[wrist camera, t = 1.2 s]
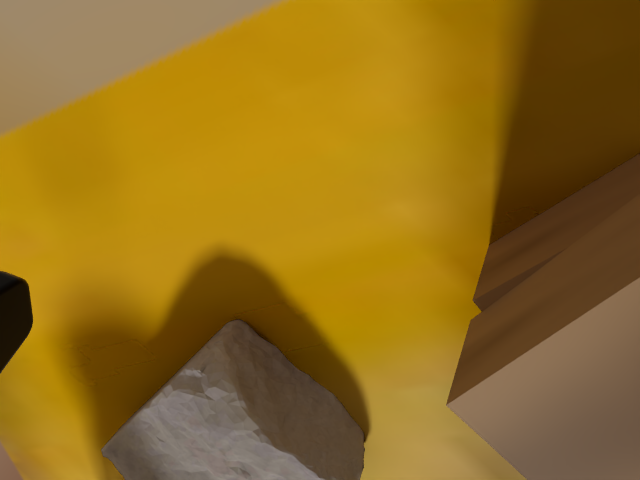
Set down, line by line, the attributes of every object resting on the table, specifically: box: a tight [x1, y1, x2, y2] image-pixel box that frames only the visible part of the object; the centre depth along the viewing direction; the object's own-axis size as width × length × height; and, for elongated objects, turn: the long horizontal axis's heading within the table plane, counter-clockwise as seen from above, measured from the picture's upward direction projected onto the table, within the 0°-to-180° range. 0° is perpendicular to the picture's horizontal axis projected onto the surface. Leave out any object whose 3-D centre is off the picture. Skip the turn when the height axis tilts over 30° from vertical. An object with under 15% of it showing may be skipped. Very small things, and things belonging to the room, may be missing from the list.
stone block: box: [101, 320, 365, 480], centre depth 29 cm, size 12×5×10 cm
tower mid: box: [446, 194, 640, 480], centre depth 15 cm, size 6×6×4 cm
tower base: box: [473, 154, 640, 311], centre depth 19 cm, size 6×6×4 cm
